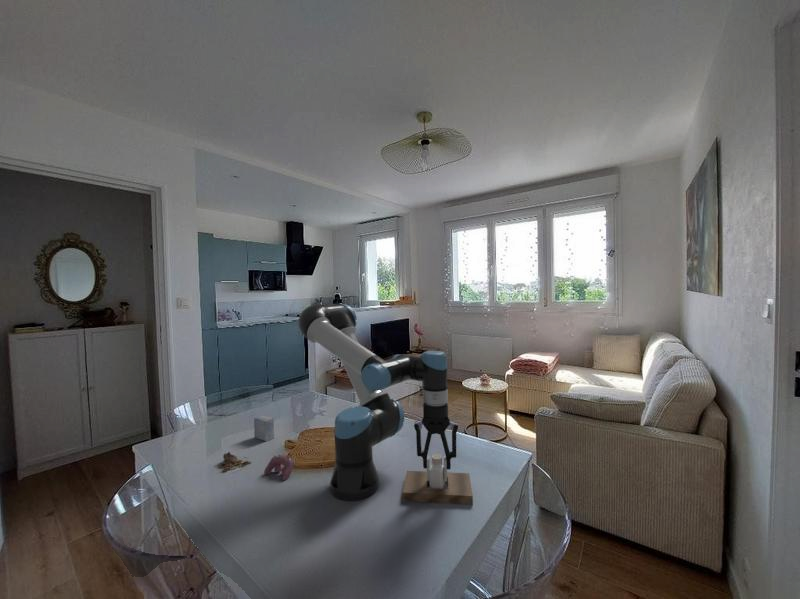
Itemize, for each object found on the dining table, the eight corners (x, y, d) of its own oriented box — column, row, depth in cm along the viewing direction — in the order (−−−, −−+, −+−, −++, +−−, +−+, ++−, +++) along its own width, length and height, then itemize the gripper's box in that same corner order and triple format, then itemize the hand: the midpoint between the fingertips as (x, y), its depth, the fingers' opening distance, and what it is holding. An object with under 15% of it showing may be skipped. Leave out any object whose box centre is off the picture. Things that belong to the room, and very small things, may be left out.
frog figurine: (207, 469, 116) (207, 459, 116) (239, 455, 126) (238, 445, 126) (225, 478, 110) (225, 467, 110) (257, 462, 120) (257, 452, 120)
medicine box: (274, 438, 141) (274, 418, 141) (265, 442, 137) (265, 421, 137) (263, 434, 145) (262, 414, 145) (254, 438, 141) (253, 418, 141)
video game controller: (293, 480, 110) (299, 457, 113) (284, 480, 106) (290, 457, 109) (271, 474, 114) (277, 452, 117) (261, 474, 110) (268, 452, 113)
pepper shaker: (429, 490, 98) (428, 458, 98) (432, 482, 102) (432, 452, 102) (442, 492, 97) (441, 460, 97) (445, 485, 100) (444, 454, 100)
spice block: (402, 500, 95) (402, 492, 95) (407, 478, 107) (407, 470, 107) (472, 504, 92) (472, 496, 92) (469, 481, 104) (469, 473, 104)
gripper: (405, 406, 97) (407, 484, 97) (465, 407, 94) (467, 487, 95) (408, 398, 104) (409, 470, 104) (463, 399, 102) (465, 473, 102)
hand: (437, 478), depth 99 cm, fingers closed on pepper shaker, 4 cm apart
